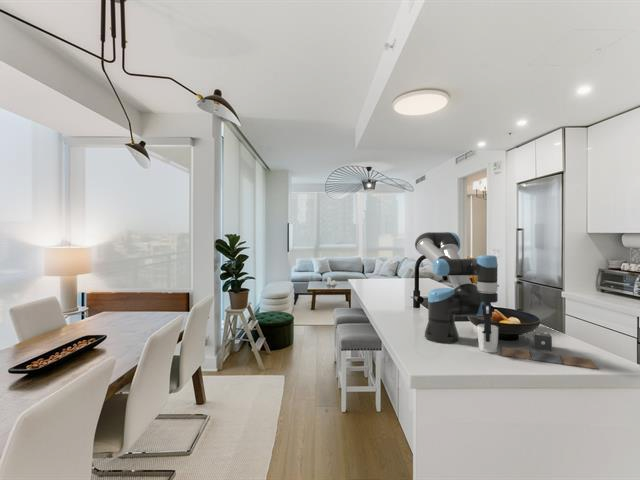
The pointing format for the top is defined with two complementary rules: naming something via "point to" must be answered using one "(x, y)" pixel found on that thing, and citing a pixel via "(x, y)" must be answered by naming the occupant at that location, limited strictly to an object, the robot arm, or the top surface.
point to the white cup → (493, 338)
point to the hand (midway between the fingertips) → (487, 345)
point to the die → (542, 341)
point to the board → (549, 358)
